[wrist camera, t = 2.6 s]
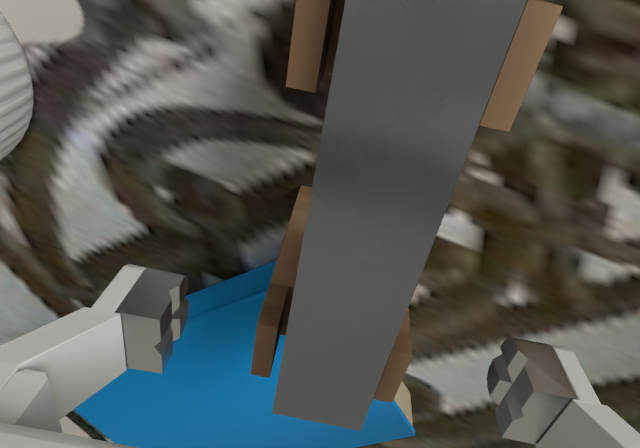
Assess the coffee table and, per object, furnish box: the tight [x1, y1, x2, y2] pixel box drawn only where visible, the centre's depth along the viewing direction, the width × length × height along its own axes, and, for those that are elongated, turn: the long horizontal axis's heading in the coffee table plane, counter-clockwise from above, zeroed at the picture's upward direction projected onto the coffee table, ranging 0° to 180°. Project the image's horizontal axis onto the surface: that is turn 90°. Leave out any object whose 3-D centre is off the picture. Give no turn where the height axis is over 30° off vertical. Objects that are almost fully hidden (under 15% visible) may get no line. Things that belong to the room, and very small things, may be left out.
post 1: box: [251, 185, 413, 403], centre depth 22 cm, size 6×3×11 cm, turn 80°
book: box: [73, 261, 415, 448], centre depth 34 cm, size 17×4×25 cm
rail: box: [272, 0, 527, 431], centre depth 14 cm, size 4×16×4 cm, turn 170°
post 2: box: [286, 0, 563, 132], centre depth 15 cm, size 6×3×11 cm, turn 81°
